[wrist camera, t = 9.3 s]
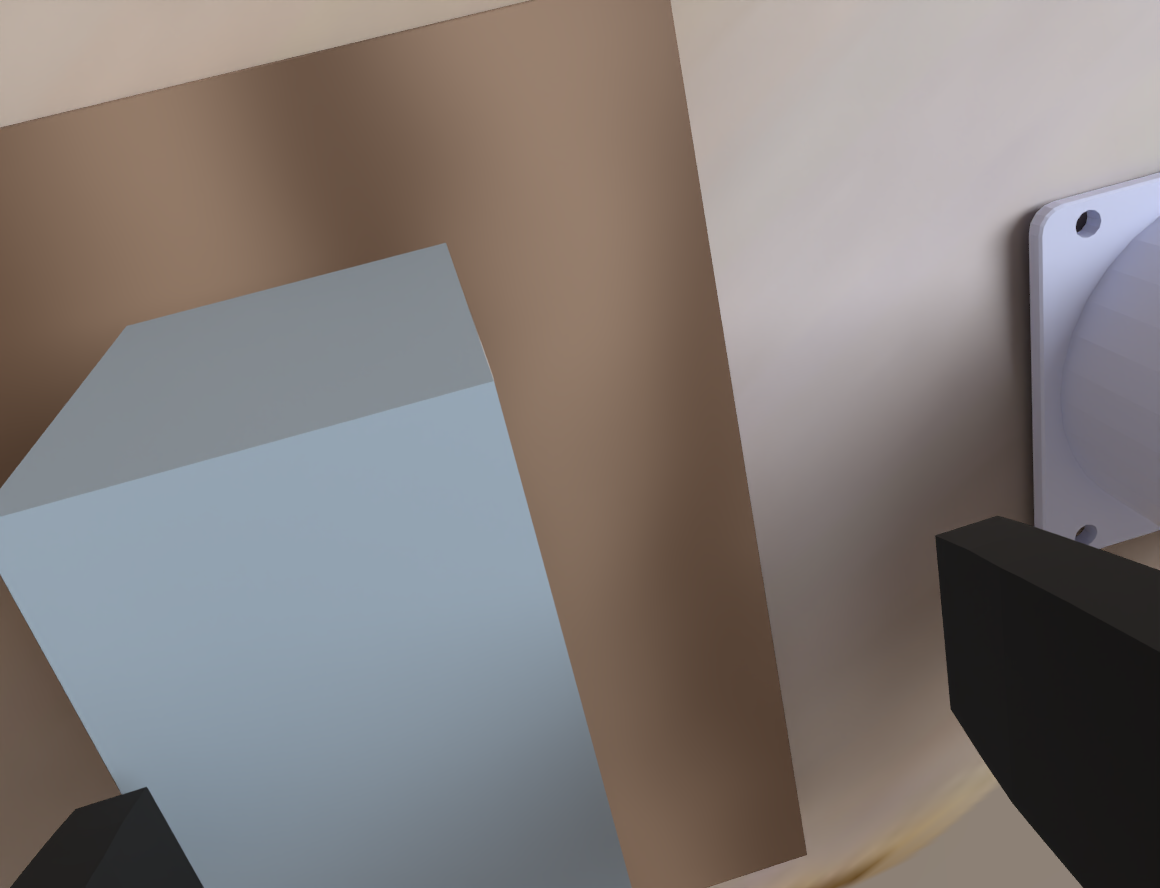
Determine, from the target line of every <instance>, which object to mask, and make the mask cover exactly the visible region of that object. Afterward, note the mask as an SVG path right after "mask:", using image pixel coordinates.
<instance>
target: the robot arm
mask: <svg viewBox="0 0 1160 888" xmlns="http://www.w3.org/2000/svg"><path fill="white" fill-rule="evenodd" d="M1084 212H1087V216H1088V217H1087V221H1086V224H1085V226H1084V227H1083V228H1082V230H1080V231H1079V232H1076V228H1075V227H1076V223H1077V220H1078V218H1079V217H1080V216H1081V214H1082V213H1084ZM1029 268H1030V320H1031V372H1032V425H1033V477H1034V527H1033V526H1030V525H1027V524H1024V523H1021V522H1017V521H1014V520H1010V519H1007V518H1004V517H1000V516H995V517H992V518H989V519H986V520H983V521H980V522H977V523H973V524H970V525H967V526H964V527H961V528H958V529H955V530H951V531H948V532H945V533H942V534H939V535H936V536H935V537H936V549H937V560H938V571H939V582H940V594H941V605H942V616H943V628H944V639H945V650H946V661H947V673H948V684H949V695H950V706H951V710H952V712H953V713H954V715H955V717H956V718H957V720H958V721H959V723H960V724H961V726H962V728H963V729H964V731H965V732H966V734H967V735H968V737H969V738H970V740H971V742H972V743H973V745H974V746H975V748H976V749H977V751H978V753H979V754H980V756H981V757H982V759H983V760H984V762H985V763H986V765H987V766H988V768H989V769H990V771H991V772H992V774H993V775H994V777H995V778H996V779H997V781H998V782H999V784H1000V785H1001V787H1002V788H1003V790H1004V791H1005V793H1006V794H1007V796H1008V797H1009V799H1010V800H1011V802H1012V803H1013V804H1014V805H1015V807H1016V808H1017V809H1018V810H1019V812H1020V813H1021V814H1022V815H1023V816H1024V818H1025V819H1026V820H1027V821H1028V823H1029V824H1030V825H1031V826H1032V827H1033V829H1034V830H1035V831H1036V832H1037V833H1038V835H1040V837H1041V838H1042V839H1043V840H1044V842H1045V843H1046V844H1047V845H1048V846H1049V848H1050V849H1051V850H1052V851H1053V852H1054V853H1055V855H1056V856H1057V857H1058V858H1059V859H1060V861H1061V862H1062V863H1063V864H1064V865H1065V867H1066V868H1067V869H1068V870H1069V871H1070V873H1071V874H1072V875H1073V876H1074V877H1075V878H1076V880H1077V881H1078V882H1079V883H1080V884H1081V886H1082V887H1083V888H1160V570H1157V569H1154V568H1151V567H1148V566H1146V565H1143V564H1140V563H1137V562H1134V561H1131V560H1129V559H1126V558H1123V557H1120V556H1117V555H1114V554H1112V553H1109V552H1106V551H1103V550H1100V548H1104V547H1107V546H1110V545H1113V544H1117V543H1120V542H1123V541H1126V540H1130V539H1133V538H1136V537H1139V536H1143V535H1146V534H1149V533H1153V532H1156V531H1159V530H1160V172H1159V173H1155V174H1151V175H1148V176H1144V177H1140V178H1137V179H1133V180H1129V181H1126V182H1122V183H1118V184H1115V185H1111V186H1107V187H1104V188H1100V189H1096V190H1093V191H1089V192H1085V193H1081V194H1078V195H1074V196H1070V197H1067V198H1063V199H1059V200H1056V201H1052V202H1050V203H1048V204H1046V205H1044V206H1043V207H1042V208H1041V209H1040V210H1039V211H1038V212H1037V213H1036V214H1035V216H1034V218H1033V219H1032V221H1031V223H1030V229H1029ZM1084 526H1085V528H1084V530H1083V531H1082V532H1081V534H1079V535H1078V536H1076V533H1077V532H1078V531H1079V530H1080V528H1082V527H1084ZM10 888H204V887H203V885H202V883H201V882H200V880H199V878H198V876H197V874H196V873H195V871H194V869H193V867H192V866H191V864H190V862H189V860H188V859H187V857H186V855H185V853H184V851H183V850H182V848H181V846H180V844H179V843H178V841H177V839H176V837H175V835H174V834H173V832H172V830H171V828H170V827H169V825H168V823H167V821H166V819H165V818H164V816H163V814H162V812H161V811H160V809H159V807H158V805H157V803H156V802H155V800H154V798H153V796H152V795H151V793H150V791H149V789H148V788H147V787H144V788H141V789H138V790H135V791H132V792H128V793H125V794H122V795H119V796H116V797H113V798H110V799H106V800H103V801H100V802H97V803H94V804H91V805H88V806H84V807H81V808H78V809H75V811H74V812H73V813H72V814H71V815H70V816H69V817H68V818H67V820H66V821H65V822H64V823H63V824H62V825H61V826H60V827H59V829H58V830H57V831H56V832H55V833H54V834H53V836H52V837H51V838H50V839H49V840H48V841H47V843H46V844H45V845H44V846H43V848H42V849H41V850H40V851H39V852H38V854H37V855H36V856H35V857H34V859H33V860H32V861H31V862H30V864H29V865H28V866H27V867H26V869H25V870H24V871H23V872H22V874H21V875H20V876H19V877H18V879H17V880H16V881H15V882H14V884H13V885H12V886H11V887H10Z"/></svg>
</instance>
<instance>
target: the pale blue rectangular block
mask: <svg viewBox="0 0 1160 888" xmlns="http://www.w3.org/2000/svg"><path fill="white" fill-rule="evenodd" d="M0 575H1V577H2V578H3V580H4V582H5V584H6V586H7V587H8V589H9V591H10V593H11V595H12V597H13V598H14V600H15V602H16V604H17V606H18V607H19V609H20V611H21V613H22V615H23V616H24V618H25V620H26V622H27V624H28V625H29V627H30V629H31V631H32V633H33V634H34V636H35V638H36V640H37V642H38V644H39V645H40V647H41V649H42V651H43V653H44V654H45V656H46V658H47V660H48V662H49V663H50V665H51V667H52V669H53V671H54V672H55V674H56V676H57V678H58V680H59V681H60V683H61V685H62V687H63V689H64V691H65V692H66V694H67V696H68V698H69V700H70V701H71V703H72V705H73V707H74V709H75V710H76V712H77V714H78V716H79V718H80V719H81V721H82V723H83V725H84V727H85V728H86V730H87V732H88V734H89V736H90V737H91V739H92V741H93V743H94V745H95V747H96V748H97V750H98V752H99V754H100V756H101V757H102V759H103V761H104V763H105V765H106V766H107V768H108V770H109V772H110V774H111V775H112V777H113V779H114V781H115V783H116V784H117V786H118V788H119V790H120V792H121V794H125V793H128V792H132V791H135V790H138V789H141V788H144V787H147V788H148V789H149V791H150V793H151V795H152V796H153V798H154V800H155V802H156V803H157V805H158V807H159V809H160V811H161V812H162V814H163V816H164V818H165V819H166V821H167V823H168V825H169V827H170V828H171V830H172V832H173V834H174V835H175V837H176V839H177V841H178V843H179V844H180V846H181V848H182V850H183V851H184V853H185V855H186V857H187V859H188V860H189V862H190V864H191V866H192V867H193V869H194V871H195V873H196V874H197V876H198V878H199V880H200V882H201V883H202V885H203V887H204V888H632V887H631V883H630V880H629V876H628V872H627V869H626V865H625V861H624V858H623V854H622V850H621V847H620V843H619V839H618V836H617V832H616V828H615V824H614V821H613V817H612V813H611V810H610V806H609V802H608V799H607V795H606V791H605V788H604V784H603V780H602V777H601V773H600V769H599V766H598V762H597V758H596V755H595V751H594V747H593V744H592V740H591V736H590V733H589V729H588V725H587V722H586V718H585V714H584V710H583V707H582V703H581V699H580V696H579V692H578V688H577V685H576V681H575V677H574V674H573V670H572V666H571V663H570V659H569V655H568V652H567V648H566V644H565V641H564V637H563V633H562V630H561V626H560V622H559V619H558V615H557V611H556V607H555V604H554V600H553V596H552V593H551V589H550V585H549V582H548V578H547V574H546V571H545V567H544V563H543V560H542V556H541V552H540V549H539V545H538V541H537V538H536V534H535V530H534V527H533V523H532V519H531V516H530V512H529V508H528V504H527V501H526V497H525V493H524V490H523V486H522V482H521V479H520V475H519V471H518V468H517V464H516V460H515V457H514V453H513V449H512V446H511V442H510V438H509V435H508V431H507V427H506V424H505V420H504V416H503V413H502V409H501V405H500V401H499V398H498V394H497V390H496V387H495V383H494V380H493V377H492V374H491V371H490V368H489V365H488V363H487V360H486V357H485V354H484V351H483V348H482V345H481V342H480V339H479V337H478V334H477V331H476V328H475V325H474V322H473V319H472V316H471V314H470V311H469V308H468V305H467V302H466V299H465V296H464V293H463V291H462V288H461V285H460V282H459V279H458V276H457V273H456V270H455V268H454V265H453V262H452V259H451V256H450V253H449V250H448V247H447V244H446V243H443V244H439V245H435V246H431V247H427V248H424V249H420V250H416V251H412V252H408V253H404V254H401V255H397V256H393V257H389V258H385V259H381V260H378V261H374V262H370V263H366V264H362V265H358V266H355V267H351V268H347V269H343V270H339V271H335V272H332V273H328V274H324V275H320V276H316V277H312V278H309V279H305V280H301V281H297V282H293V283H289V284H286V285H282V286H278V287H274V288H270V289H266V290H263V291H259V292H255V293H251V294H247V295H243V296H240V297H236V298H232V299H228V300H224V301H221V302H217V303H213V304H209V305H205V306H201V307H198V308H194V309H190V310H186V311H182V312H178V313H175V314H171V315H167V316H163V317H159V318H155V319H152V320H148V321H144V322H140V323H136V324H132V325H129V326H126V327H125V329H124V330H123V331H122V333H121V334H120V335H119V336H118V338H117V339H116V340H115V342H114V343H113V344H112V345H111V347H110V348H109V349H108V351H107V352H106V353H105V354H104V356H103V357H102V358H101V360H100V361H99V362H98V363H97V365H96V366H95V367H94V369H93V370H92V371H91V372H90V374H89V375H88V376H87V378H86V379H85V380H84V381H83V383H82V384H81V385H80V387H79V388H78V389H77V390H76V392H75V393H74V394H73V396H72V397H71V398H70V399H69V401H68V402H67V403H66V405H65V406H64V407H63V409H62V410H61V411H60V412H59V414H58V415H57V416H56V418H55V419H54V420H53V421H52V423H51V424H50V425H49V427H48V428H47V429H46V430H45V432H44V433H43V434H42V436H41V437H40V438H39V439H38V441H37V442H36V443H35V445H34V446H33V447H32V448H31V450H30V451H29V452H28V454H27V455H26V456H25V457H24V459H23V460H22V461H21V463H20V464H19V465H18V466H17V468H16V469H15V470H14V472H13V473H12V474H11V475H10V477H9V478H8V479H7V481H6V482H5V483H4V485H3V486H2V487H1V488H0Z"/></svg>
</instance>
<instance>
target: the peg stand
mask: <svg viewBox="0 0 1160 888" xmlns="http://www.w3.org/2000/svg"><path fill="white" fill-rule="evenodd" d="M443 243H446V244H447V247H448V250H449V253H450V256H451V259H452V262H453V265H454V268H455V270H456V273H457V276H458V279H459V282H460V285H461V288H462V291H463V293H464V296H465V299H466V302H467V305H468V308H469V311H470V314H471V316H472V319H473V322H474V325H475V328H476V331H477V334H478V337H479V339H480V342H481V345H482V348H483V351H484V354H485V357H486V360H487V363H488V365H489V368H490V371H491V374H492V377H493V380H494V383H495V387H496V390H497V394H498V398H499V401H500V405H501V409H502V413H503V416H504V420H505V424H506V427H507V431H508V435H509V438H510V442H511V446H512V449H513V453H514V457H515V460H516V464H517V468H518V471H519V475H520V479H521V482H522V486H523V490H524V493H525V497H526V501H527V504H528V508H529V512H530V516H531V519H532V523H533V527H534V530H535V534H536V538H537V541H538V545H539V549H540V552H541V556H542V560H543V563H544V567H545V571H546V574H547V578H548V582H549V585H550V589H551V593H552V596H553V600H554V604H555V607H556V611H557V615H558V619H559V622H560V626H561V630H562V633H563V637H564V641H565V644H566V648H567V652H568V655H569V659H570V663H571V666H572V670H573V674H574V677H575V681H576V685H577V688H578V692H579V696H580V699H581V703H582V707H583V710H584V714H585V718H586V722H587V725H588V729H589V733H590V736H591V740H592V744H593V747H594V751H595V755H596V758H597V762H598V766H599V769H600V773H601V777H602V780H603V784H604V788H605V791H606V795H607V799H608V802H609V806H610V810H611V813H612V817H613V821H614V824H615V828H616V832H617V836H618V839H619V843H620V847H621V850H622V854H623V858H624V861H625V865H626V869H627V872H628V876H629V880H630V883H631V887H632V888H707V887H710V886H713V885H716V884H719V883H722V882H725V881H728V880H731V879H734V878H737V877H741V876H744V875H747V874H750V873H753V872H756V871H759V870H762V869H765V868H768V867H771V866H774V865H777V864H780V863H783V862H786V861H789V860H792V859H796V858H799V857H802V856H805V855H807V852H806V846H805V840H804V833H803V827H802V821H801V815H800V808H799V802H798V796H797V790H796V783H795V777H794V771H793V765H792V758H791V752H790V746H789V740H788V733H787V727H786V721H785V715H784V708H783V702H782V696H781V690H780V683H779V677H778V671H777V665H776V658H775V652H774V646H773V640H772V633H771V627H770V621H769V615H768V608H767V602H766V596H765V590H764V583H763V577H762V571H761V565H760V558H759V552H758V546H757V540H756V533H755V527H754V521H753V515H752V508H751V502H750V496H749V490H748V483H747V477H746V471H745V465H744V458H743V452H742V446H741V440H740V433H739V427H738V421H737V415H736V408H735V402H734V396H733V390H732V383H731V377H730V371H729V365H728V358H727V352H726V346H725V340H724V333H723V327H722V321H721V315H720V308H719V302H718V296H717V290H716V283H715V277H714V271H713V265H712V258H711V252H710V246H709V240H708V233H707V227H706V221H705V215H704V208H703V202H702V196H701V190H700V183H699V177H698V171H697V165H696V158H695V152H694V146H693V140H692V133H691V127H690V121H689V115H688V108H687V102H686V96H685V90H684V83H683V77H682V71H681V65H680V58H679V52H678V46H677V39H676V33H675V27H674V21H673V14H672V8H671V2H670V0H530V1H526V2H522V3H518V4H514V5H509V6H505V7H501V8H497V9H493V10H489V11H484V12H480V13H476V14H472V15H468V16H463V17H459V18H455V19H451V20H447V21H443V22H438V23H434V24H430V25H426V26H422V27H418V28H413V29H409V30H405V31H401V32H397V33H393V34H388V35H384V36H380V37H376V38H372V39H368V40H363V41H359V42H355V43H351V44H347V45H343V46H338V47H334V48H330V49H326V50H322V51H318V52H313V53H309V54H305V55H301V56H297V57H293V58H288V59H284V60H280V61H276V62H272V63H268V64H263V65H259V66H255V67H251V68H247V69H243V70H238V71H234V72H230V73H226V74H222V75H218V76H213V77H209V78H205V79H201V80H197V81H193V82H188V83H184V84H180V85H176V86H172V87H168V88H163V89H159V90H155V91H151V92H147V93H143V94H138V95H134V96H130V97H126V98H122V99H118V100H113V101H109V102H105V103H101V104H97V105H92V106H88V107H84V108H80V109H76V110H72V111H67V112H63V113H59V114H55V115H51V116H47V117H42V118H38V119H34V120H30V121H26V122H22V123H17V124H13V125H9V126H5V127H1V128H0V488H1V487H2V486H3V485H4V483H5V482H6V481H7V479H8V478H9V477H10V475H11V474H12V473H13V472H14V470H15V469H16V468H17V466H18V465H19V464H20V463H21V461H22V460H23V459H24V457H25V456H26V455H27V454H28V452H29V451H30V450H31V448H32V447H33V446H34V445H35V443H36V442H37V441H38V439H39V438H40V437H41V436H42V434H43V433H44V432H45V430H46V429H47V428H48V427H49V425H50V424H51V423H52V421H53V420H54V419H55V418H56V416H57V415H58V414H59V412H60V411H61V410H62V409H63V407H64V406H65V405H66V403H67V402H68V401H69V399H70V398H71V397H72V396H73V394H74V393H75V392H76V390H77V389H78V388H79V387H80V385H81V384H82V383H83V381H84V380H85V379H86V378H87V376H88V375H89V374H90V372H91V371H92V370H93V369H94V367H95V366H96V365H97V363H98V362H99V361H100V360H101V358H102V357H103V356H104V354H105V353H106V352H107V351H108V349H109V348H110V347H111V345H112V344H113V343H114V342H115V340H116V339H117V338H118V336H119V335H120V334H121V333H122V331H123V330H124V329H125V327H126V326H129V325H132V324H136V323H140V322H144V321H148V320H152V319H155V318H159V317H163V316H167V315H171V314H175V313H178V312H182V311H186V310H190V309H194V308H198V307H201V306H205V305H209V304H213V303H217V302H221V301H224V300H228V299H232V298H236V297H240V296H243V295H247V294H251V293H255V292H259V291H263V290H266V289H270V288H274V287H278V286H282V285H286V284H289V283H293V282H297V281H301V280H305V279H309V278H312V277H316V276H320V275H324V274H328V273H332V272H335V271H339V270H343V269H347V268H351V267H355V266H358V265H362V264H366V263H370V262H374V261H378V260H381V259H385V258H389V257H393V256H397V255H401V254H404V253H408V252H412V251H416V250H420V249H424V248H427V247H431V246H435V245H439V244H443ZM2 579H3V578H2ZM3 581H4V580H3ZM4 583H5V582H4ZM7 588H8V587H7ZM8 590H9V589H8ZM9 592H10V591H9ZM13 599H14V598H13ZM14 601H15V600H14ZM18 608H19V607H18ZM19 610H20V609H19ZM23 617H24V616H23ZM24 619H25V618H24ZM25 621H26V620H25ZM28 626H29V625H28ZM29 628H30V627H29ZM30 630H31V629H30ZM33 635H34V634H33ZM34 637H35V636H34ZM35 639H36V638H35ZM39 646H40V645H39ZM40 648H41V647H40ZM41 650H42V649H41ZM44 655H45V654H44ZM45 657H46V656H45ZM46 659H47V658H46ZM49 664H50V663H49ZM50 666H51V665H50ZM51 668H52V667H51ZM54 673H55V672H54ZM55 675H56V674H55ZM56 677H57V676H56ZM59 682H60V681H59ZM60 684H61V683H60ZM61 686H62V685H61ZM62 688H63V687H62ZM65 693H66V692H65ZM66 695H67V694H66ZM67 697H68V696H67ZM70 702H71V701H70ZM71 704H72V703H71ZM72 706H73V705H72ZM75 711H76V710H75ZM76 713H77V712H76ZM77 715H78V714H77ZM80 720H81V719H80ZM81 722H82V721H81ZM82 724H83V723H82ZM83 726H84V725H83ZM85 729H86V728H85ZM86 731H87V730H86ZM87 733H88V732H87ZM88 735H89V734H88ZM90 738H91V737H90ZM91 740H92V739H91ZM92 742H93V741H92ZM93 744H94V743H93ZM96 749H97V748H96ZM97 751H98V750H97ZM98 753H99V752H98ZM101 758H102V757H101ZM102 760H103V759H102ZM103 762H104V761H103ZM104 764H105V763H104ZM106 767H107V766H106ZM107 769H108V768H107ZM108 771H109V770H108ZM109 773H110V772H109ZM111 776H112V775H111ZM112 778H113V777H112ZM113 780H114V779H113ZM114 782H115V781H114ZM116 785H117V784H116ZM117 787H118V786H117ZM118 789H119V788H118ZM119 791H120V790H119ZM120 793H121V792H120Z"/></svg>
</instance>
